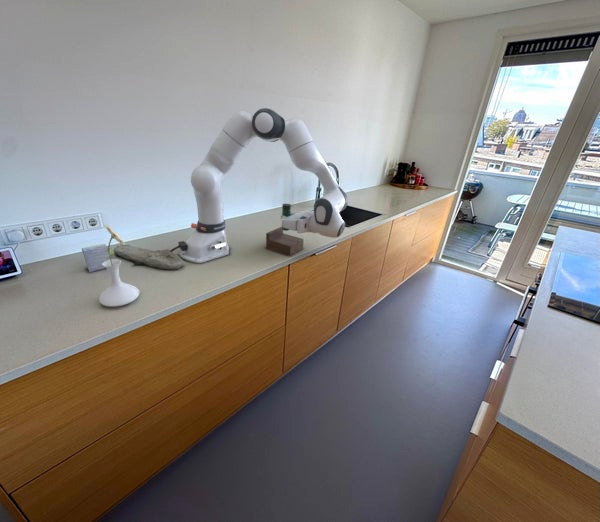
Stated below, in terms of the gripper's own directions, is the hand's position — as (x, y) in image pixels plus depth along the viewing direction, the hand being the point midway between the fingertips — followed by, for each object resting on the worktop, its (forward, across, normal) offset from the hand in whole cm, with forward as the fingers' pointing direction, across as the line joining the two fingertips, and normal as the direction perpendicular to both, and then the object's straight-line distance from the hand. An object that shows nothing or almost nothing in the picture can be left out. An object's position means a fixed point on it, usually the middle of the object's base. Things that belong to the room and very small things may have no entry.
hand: (284, 215), depth 136 cm
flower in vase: (+17, +70, +16) cm, 74 cm away
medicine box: (+44, +63, +16) cm, 79 cm away
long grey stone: (+36, +48, +16) cm, 63 cm away
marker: (-1, 0, +6) cm, 7 cm away
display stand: (-1, 0, +16) cm, 17 cm away
